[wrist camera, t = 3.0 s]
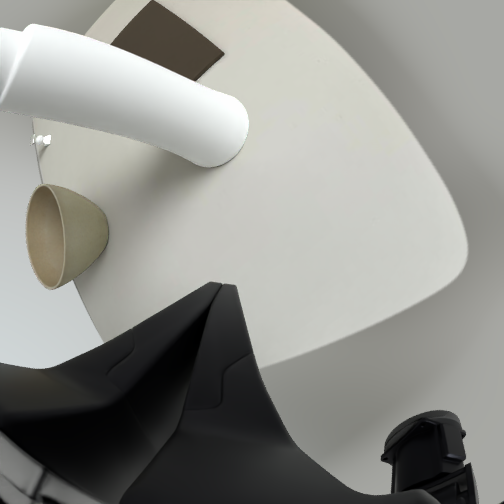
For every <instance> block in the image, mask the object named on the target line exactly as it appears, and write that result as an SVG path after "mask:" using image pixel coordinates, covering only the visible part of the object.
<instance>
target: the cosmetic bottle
mask: <svg viewBox="0 0 504 504" xmlns="http://www.w3.org/2000/svg"><path fill="white" fill-rule="evenodd" d="M0 111H3V112H9V113H15V114H22V115H26V116H32V117H37V118H42V119H48V120H53V121H58V122H62V123H67V124H72V125H77V126H81V127H86V128H90V129H94V130H99V131H103V132H107V133H111V134H115V135H119V136H123V137H126V138H130V139H134V140H137V141H141V142H144V143H147V144H150V145H153V146H156V147H159V148H162V149H165V150H167V151H170V152H172V153H174V154H177V155H179V156H181V157H183V158H185V159H187V160H189V161H190V162H192V163H194V164H196V165H198V166H202V167H215V166H219V165H222V164H224V163H226V162H228V161H229V160H231V159H232V158H233V157H234V156H235V155H236V154H237V153H238V152H239V151H240V149H241V148H242V146H243V145H244V143H245V140H246V138H247V135H248V129H249V120H248V115H247V112H246V110H245V108H244V106H243V105H242V104H241V103H240V102H239V101H238V100H237V99H236V98H234V97H232V96H230V95H227V94H224V93H221V92H218V91H215V90H213V89H210V88H208V87H206V86H203V85H201V84H199V83H196V82H194V81H192V80H190V79H188V78H185V77H183V76H181V75H179V74H177V73H175V72H172V71H170V70H168V69H166V68H164V67H162V66H160V65H157V64H155V63H153V62H151V61H148V60H146V59H144V58H141V57H139V56H137V55H134V54H132V53H130V52H127V51H125V50H122V49H120V48H117V47H114V46H112V45H109V44H106V43H104V42H101V41H98V40H95V39H92V38H89V37H86V36H82V35H79V34H76V33H72V32H68V31H64V30H61V29H56V28H52V27H47V26H42V25H37V24H30V25H29V26H27V27H26V28H25V29H24V31H23V32H20V31H16V30H11V29H6V28H0Z"/></svg>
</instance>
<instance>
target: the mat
mask: <svg viewBox="0 0 504 504" xmlns="http://www.w3.org/2000/svg"><path fill="white" fill-rule="evenodd" d="M110 45H112V46H114V47H117V48H120V49H122V50H125V51H127V52H130V53H132V54H134V55H137V56H139V57H141V58H144V59H146V60H148V61H151V62H153V63H155V64H157V65H160V66H162V67H164V68H166V69H168V70H170V71H172V72H175V73H177V74H179V75H181V76H183V77H185V78H188V79H190V80H192V81H194V82H195V81H196V80H197V79H198V78H199V77H200V76H201V75H202V74H203V73H204V72H205V71H206V70H207V69H209V68H210V67H211V66H212V65H213V64H214V63H215V62H216V61H217V60H218V59H220V58H221V57H222V56H223V55H224V54H225V53H224V52H222V51H221V50H220V49H219V48H218V47H216V46H215V45H214V44H213V43H212V42H210V41H209V40H208V39H207V38H205V37H204V36H203V35H202V34H200V33H199V32H198V31H197V30H195V29H194V28H193V27H191V26H190V25H189V24H187V23H186V22H185V21H183V20H182V19H181V18H179V17H178V16H176V15H175V14H174V13H172V12H171V11H169V10H168V9H166V8H165V7H163V6H162V5H160V4H159V3H157V2H156V1H154V0H151V1H150V2H149V3H148V4H147V5H146V6H145V7H144V8H143V9H142V10H141V11H140V12H139V13H138V14H137V15H136V16H135V17H134V18H133V19H132V20H131V21H130V22H129V24H128V25H127V26H126V27H125V28H124V29H123V30H122V31H121V33H120V34H119V35H118V36H117V37H116V38H115V40H114V41H113V42H112V43H111V44H110Z"/></svg>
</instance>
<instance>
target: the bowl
mask: <svg viewBox="0 0 504 504" xmlns="http://www.w3.org/2000/svg"><path fill="white" fill-rule="evenodd" d="M108 232H109V231H108V223H107V219H106V216H105V214H104V213H103V211H102V210H101V209H100V208H99V207H98V206H96V205H95V204H94V203H93V202H91V201H90V200H88V199H87V198H85V197H83V196H82V195H80V194H78V193H76V192H74V191H71V190H69V189H66V188H63V187H59V186H55V185H50V184H41V185H39V186H38V187H36V189H35V190H34V192H33V194H32V196H31V198H30V201H29V204H28V209H27V214H26V244H27V250H28V255H29V259H30V263H31V266H32V268H33V271H34V273H35V275H36V277H37V278H38V280H39V281H40V283H41V284H42V285H43V286H44V287H45V288H47V289H50V290H53V289H56V288H58V287H60V286H63V285H64V284H66V283H68V282H69V281H71V280H73V279H74V278H76V277H77V276H78V275H80V274H81V273H82V272H84V271H85V270H86V269H87V268H88V267H89V266H90V265H91V264H92V263H93V262H94V261H95V260H96V259H97V258H98V256H99V255H100V254H101V253H102V251H103V250H104V248H105V247H106V244H107V241H108Z"/></svg>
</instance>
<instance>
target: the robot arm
mask: <svg viewBox="0 0 504 504" xmlns="http://www.w3.org/2000/svg"><path fill="white" fill-rule="evenodd" d="M422 423H423V424H422ZM465 436H466V432H465V431H464V430H462V429H459V428H457V427H454V426H451V425H448V424H445V423H440V422H437V421H434V420H431V419H428V418H422V419H420V420H419V421H418V422H417V423H416V424H415V425H414V426H413V427H412V428H411V429H410V430H409V431H408V432H407V433H406V434H405V435H404V436H403V437H402V438H401V439H400V440H398V441H397V442H396V443H395V444H394V445H393V446H392V447H391V448H389V449H388V450H387V451H386V452H385V453H384V454H382V456H381V461H383V462H386V463H390V464H392V485H391V494H387V495H368V494H363V493H360V492H357V491H354V490H352V489H350V488H349V487H347V486H345V485H344V484H343V483H342V482H340V481H339V480H338V479H336V478H335V477H333V476H332V475H331V474H330V473H329V472H327V471H326V470H325V469H324V468H322V467H321V466H320V465H319V464H317V463H316V462H315V461H314V460H312V459H311V458H310V457H309V456H308V455H307V454H305V453H304V452H303V451H302V450H301V449H300V448H299V447H298V446H297V445H296V444H295V442H294V441H293V440H292V438H291V437H290V435H289V433H288V431H287V430H286V428H285V426H284V424H283V422H282V420H281V418H280V416H279V414H278V412H277V410H276V408H275V406H274V404H273V402H272V400H271V398H270V396H269V394H268V392H267V390H266V387H265V385H264V383H263V381H262V378H261V375H260V372H259V369H258V366H257V363H256V359H255V356H254V354H253V349H252V345H251V341H250V337H249V334H248V330H247V326H246V322H245V318H244V314H243V310H242V307H241V303H240V299H239V295H238V291H237V287H236V285H231V284H223V285H222V283H216V282H209V283H207V284H205V285H204V286H202V287H200V288H198V289H197V290H195V291H193V292H192V293H190V294H188V295H187V296H185V297H183V298H182V299H180V300H178V301H177V302H175V303H173V304H172V305H170V306H168V307H167V308H165V309H163V310H162V311H160V312H158V313H156V314H155V315H153V316H151V317H150V318H148V319H146V320H145V321H143V322H141V323H140V324H138V325H136V326H135V327H133V328H132V329H129V330H128V331H126V332H124V333H123V334H121V335H119V336H117V337H115V338H114V339H112V340H110V341H108V342H106V343H104V344H102V345H101V346H98V347H96V348H94V349H92V350H90V351H88V352H86V353H84V354H81V355H79V356H77V357H75V358H73V359H70V360H68V361H66V362H64V363H62V364H60V365H57V366H54V367H51V368H45V369H33V368H26V367H20V366H15V365H9V364H4V363H0V504H479V498H478V492H477V486H476V480H475V477H474V473H473V469H472V466H471V463H468V464H466V465H465V467H464V464H463V461H464V460H465V459H466V454H465V450H464V445H463V441H462V439H463V438H464V437H465ZM499 504H504V501H503V502H501V503H499Z"/></svg>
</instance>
